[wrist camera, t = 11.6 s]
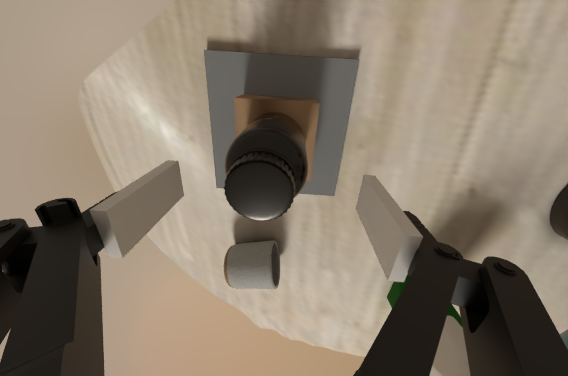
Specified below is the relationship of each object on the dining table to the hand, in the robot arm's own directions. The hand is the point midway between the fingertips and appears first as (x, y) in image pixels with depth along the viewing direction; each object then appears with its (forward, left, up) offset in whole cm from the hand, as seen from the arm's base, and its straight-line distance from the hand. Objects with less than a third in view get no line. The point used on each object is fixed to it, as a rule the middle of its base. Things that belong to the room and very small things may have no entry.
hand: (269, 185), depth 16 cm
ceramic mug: (+3, +23, -17) cm, 29 cm away
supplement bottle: (0, 0, -11) cm, 11 cm away
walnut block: (0, 0, -16) cm, 16 cm away
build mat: (0, 0, -17) cm, 17 cm away
